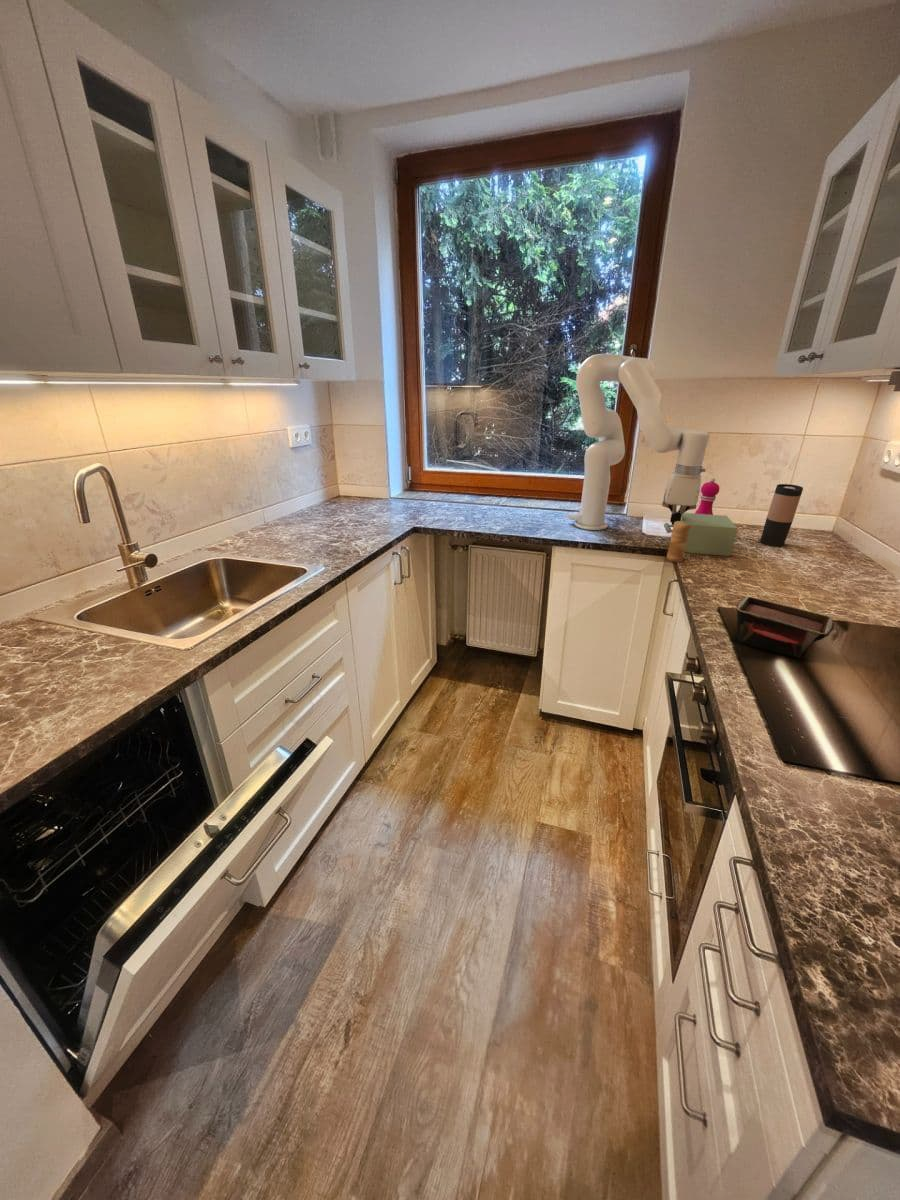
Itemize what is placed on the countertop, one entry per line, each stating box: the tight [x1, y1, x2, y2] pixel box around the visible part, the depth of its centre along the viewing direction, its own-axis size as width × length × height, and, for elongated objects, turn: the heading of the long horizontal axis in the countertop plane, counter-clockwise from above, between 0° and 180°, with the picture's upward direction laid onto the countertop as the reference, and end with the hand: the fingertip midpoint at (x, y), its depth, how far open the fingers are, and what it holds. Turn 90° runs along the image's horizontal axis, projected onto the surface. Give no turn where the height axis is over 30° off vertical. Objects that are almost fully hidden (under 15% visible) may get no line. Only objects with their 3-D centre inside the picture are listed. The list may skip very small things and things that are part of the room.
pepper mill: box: [693, 477, 721, 515], centre depth 174 cm, size 7×7×20 cm
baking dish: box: [736, 596, 835, 659], centre depth 104 cm, size 14×18×10 cm
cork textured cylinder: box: [666, 521, 691, 563], centre depth 149 cm, size 5×5×12 cm
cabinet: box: [681, 512, 738, 557], centre depth 160 cm, size 15×15×10 cm
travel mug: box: [760, 483, 804, 547], centre depth 162 cm, size 8×8×20 cm
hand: (674, 524), depth 162 cm, fingers closed
